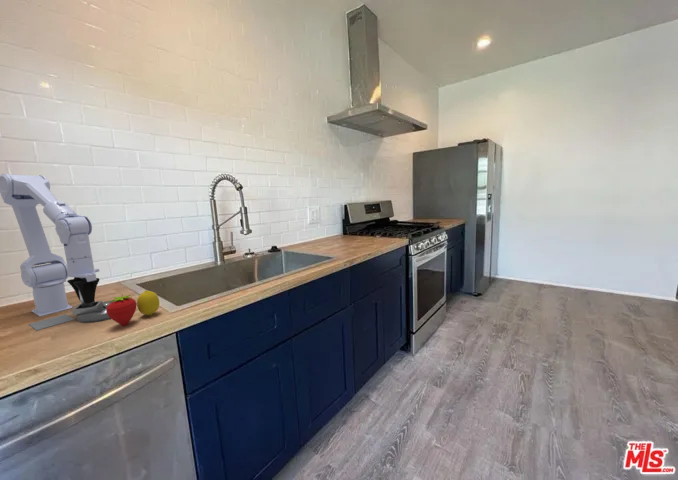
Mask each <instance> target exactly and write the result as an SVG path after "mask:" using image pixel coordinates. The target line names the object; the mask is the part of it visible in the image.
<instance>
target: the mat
mask: <svg viewBox="0 0 678 480" xmlns="http://www.w3.org/2000/svg"><path fill="white" fill-rule="evenodd" d="M72 321H75V318H74V317H71V316H70V315H68V314H62V315H58V316H55V317H51V318H48V319H47V318H46V319H43V320H40V321H36V322H32V323H28V326H30V327H31V328H32V329H34V330H35V331H36V332H37V331H40V330H45V329H48V328H52V327H55V326H59V325H62V324H66V323H69V322H72Z"/></svg>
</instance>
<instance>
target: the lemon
mask: <svg viewBox="0 0 678 480" xmlns="http://www.w3.org/2000/svg"><path fill="white" fill-rule="evenodd" d="M136 303H137V305H136V308H137V310H138V312H139V313H141V314H142V315H146V316H148V317H151V316H152V315H153V314H155V313H156V312H157V311H158V310H159V308H160V299H159V297H158V295H157V293H156V292H154V291H151V290H147V289H145V290H144V291H143V292H142V293H141V294H139V296H138V298H137V301H136Z"/></svg>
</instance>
